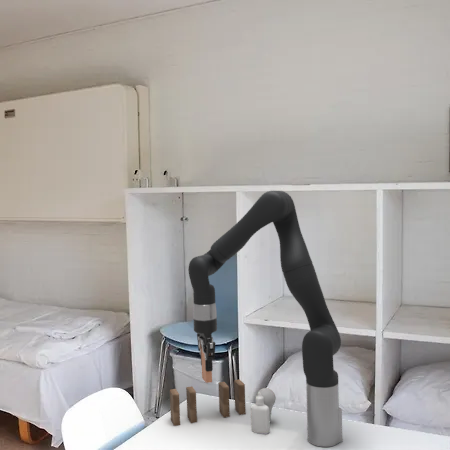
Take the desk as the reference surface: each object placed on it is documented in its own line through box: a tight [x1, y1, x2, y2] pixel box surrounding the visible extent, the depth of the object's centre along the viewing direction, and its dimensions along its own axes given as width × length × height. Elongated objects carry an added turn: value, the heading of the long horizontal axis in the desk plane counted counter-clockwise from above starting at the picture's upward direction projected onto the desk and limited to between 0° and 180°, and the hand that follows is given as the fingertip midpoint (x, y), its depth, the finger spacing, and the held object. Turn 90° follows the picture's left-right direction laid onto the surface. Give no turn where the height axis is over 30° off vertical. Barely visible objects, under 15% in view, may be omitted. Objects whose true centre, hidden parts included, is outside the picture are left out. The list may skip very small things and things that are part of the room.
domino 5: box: [233, 379, 246, 416], centre depth 178 cm, size 2×5×10 cm, turn 18°
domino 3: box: [200, 349, 213, 384], centre depth 173 cm, size 2×5×10 cm, turn 18°
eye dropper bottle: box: [250, 392, 271, 435], centre depth 163 cm, size 4×6×12 cm
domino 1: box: [169, 388, 181, 427], centre depth 171 cm, size 2×5×10 cm, turn 18°
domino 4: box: [218, 381, 231, 419], centre depth 176 cm, size 2×5×10 cm, turn 18°
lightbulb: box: [255, 387, 277, 421], centre depth 169 cm, size 6×6×11 cm
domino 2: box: [185, 385, 198, 424], centre depth 173 cm, size 2×5×10 cm, turn 18°
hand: (206, 368), depth 174 cm, fingers closed on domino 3, 5 cm apart
